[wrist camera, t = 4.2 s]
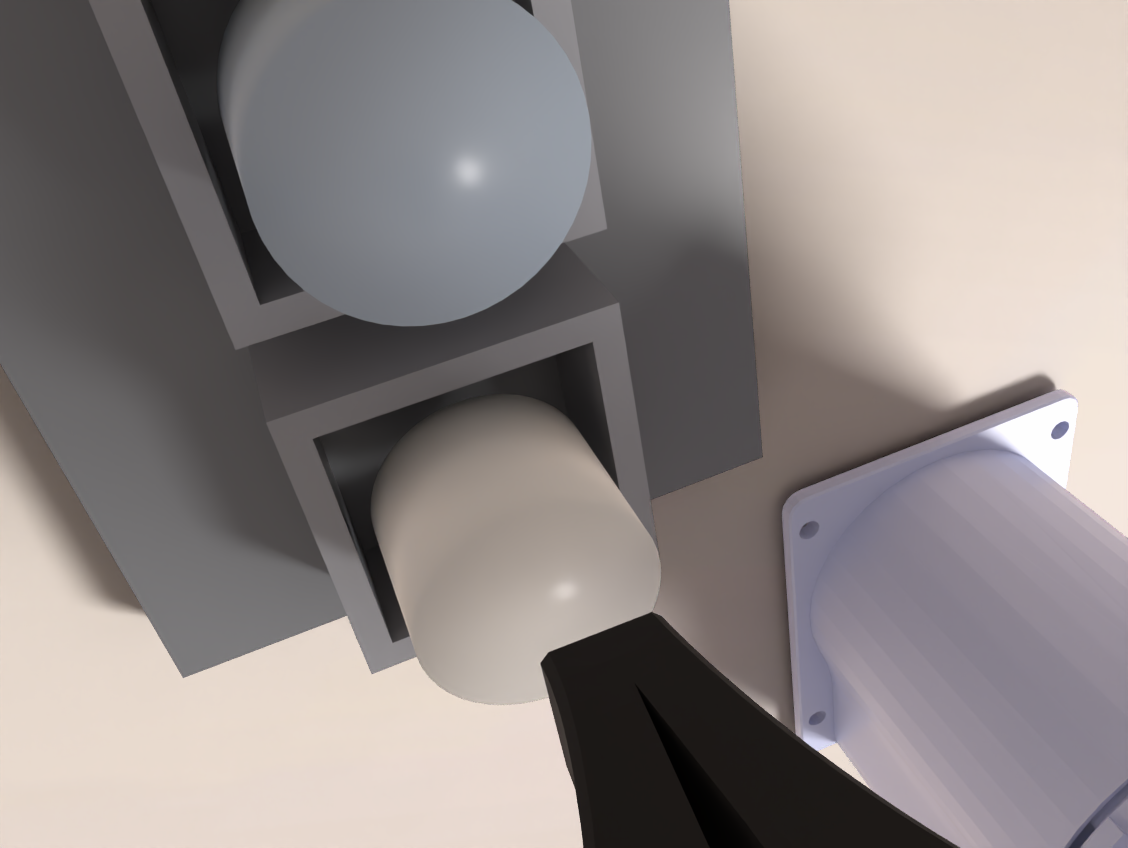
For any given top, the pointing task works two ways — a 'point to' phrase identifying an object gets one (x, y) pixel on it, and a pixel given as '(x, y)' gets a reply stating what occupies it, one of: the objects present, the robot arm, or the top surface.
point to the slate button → (404, 148)
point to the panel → (342, 314)
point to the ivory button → (506, 544)
